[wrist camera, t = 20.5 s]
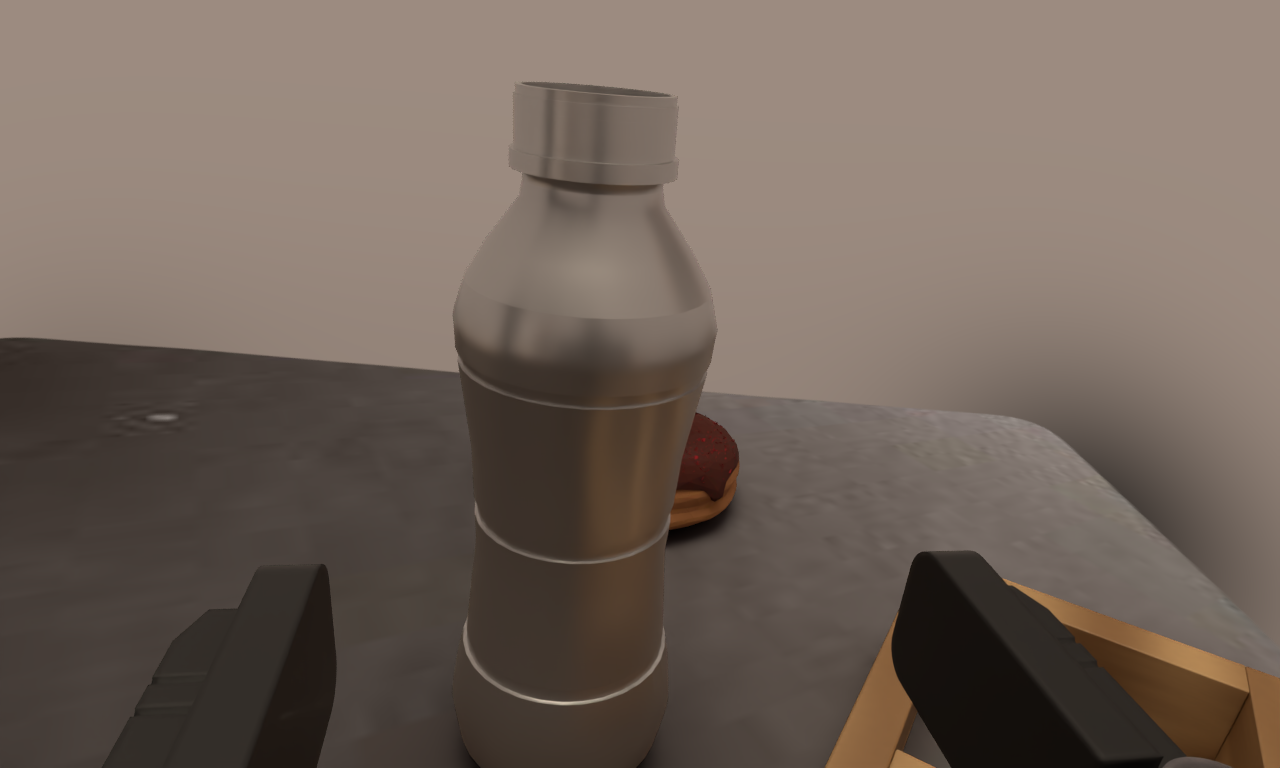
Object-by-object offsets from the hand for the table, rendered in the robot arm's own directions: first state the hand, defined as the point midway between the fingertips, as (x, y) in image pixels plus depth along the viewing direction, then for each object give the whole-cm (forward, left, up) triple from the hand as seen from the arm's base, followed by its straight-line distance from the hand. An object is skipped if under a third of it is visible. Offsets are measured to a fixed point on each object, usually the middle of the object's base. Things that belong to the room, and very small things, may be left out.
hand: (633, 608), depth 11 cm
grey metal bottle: (-6, +8, -14) cm, 17 cm away
